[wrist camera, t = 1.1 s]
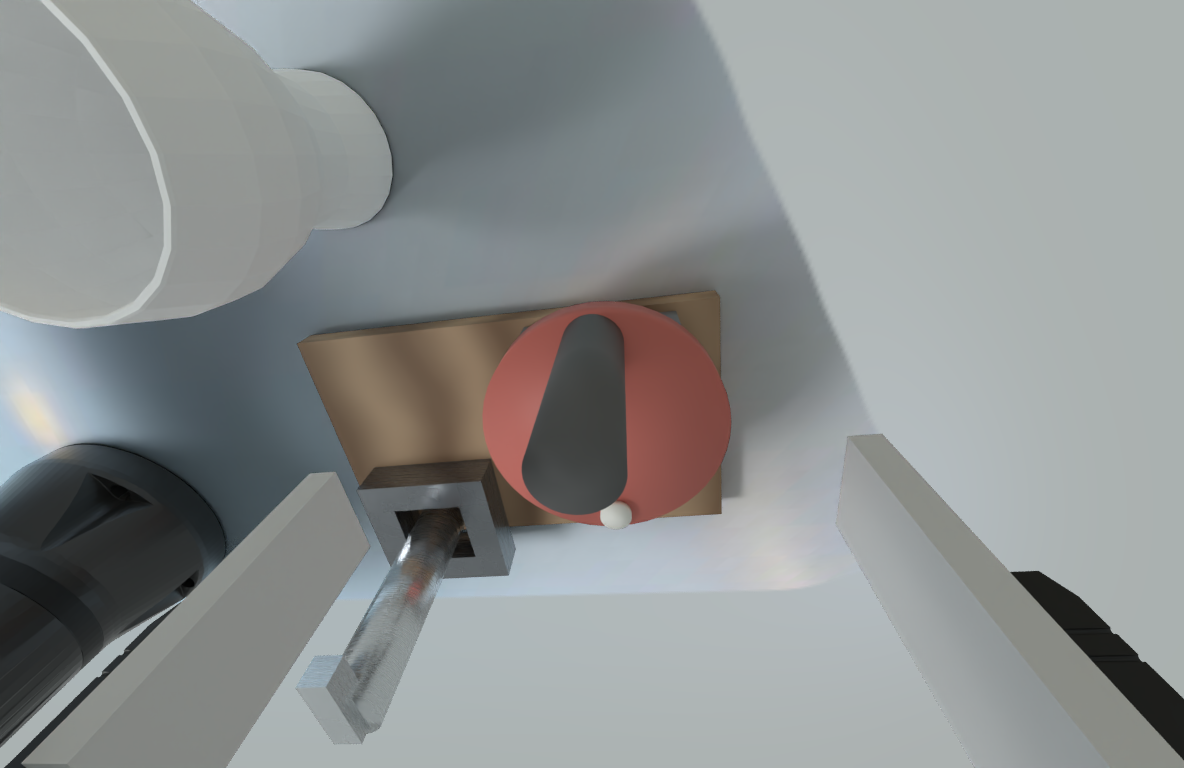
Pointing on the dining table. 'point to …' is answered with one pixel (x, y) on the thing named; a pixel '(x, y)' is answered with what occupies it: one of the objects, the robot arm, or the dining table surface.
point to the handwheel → (607, 414)
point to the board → (455, 391)
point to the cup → (163, 162)
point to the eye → (443, 485)
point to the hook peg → (383, 634)
